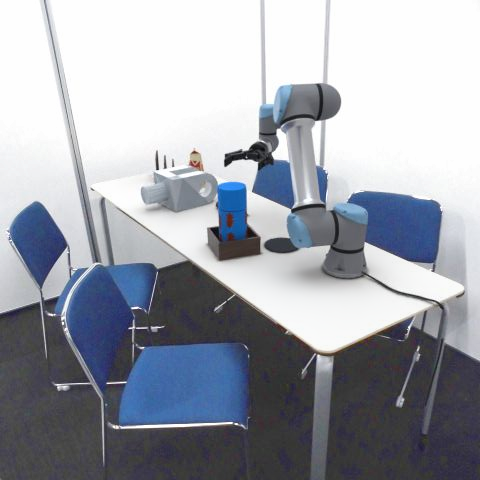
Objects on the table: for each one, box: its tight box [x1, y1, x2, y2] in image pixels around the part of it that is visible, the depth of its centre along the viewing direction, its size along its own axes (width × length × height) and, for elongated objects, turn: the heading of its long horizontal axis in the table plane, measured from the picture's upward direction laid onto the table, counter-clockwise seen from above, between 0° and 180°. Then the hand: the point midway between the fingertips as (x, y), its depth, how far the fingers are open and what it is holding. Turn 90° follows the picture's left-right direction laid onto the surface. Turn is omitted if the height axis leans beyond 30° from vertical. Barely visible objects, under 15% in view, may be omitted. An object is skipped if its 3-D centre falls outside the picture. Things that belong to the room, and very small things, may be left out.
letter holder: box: [154, 149, 175, 171], centre depth 267 cm, size 10×20×14 cm, turn 6°
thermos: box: [216, 181, 248, 242], centre depth 179 cm, size 11×11×25 cm
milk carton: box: [188, 147, 206, 188], centre depth 252 cm, size 9×9×20 cm
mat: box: [263, 236, 300, 254], centre depth 187 cm, size 14×14×1 cm
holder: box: [206, 222, 262, 261], centre depth 184 cm, size 17×17×7 cm
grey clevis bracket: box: [140, 164, 219, 213], centre depth 228 cm, size 35×19×15 cm, turn 126°
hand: (241, 165), depth 176 cm, fingers open, 13 cm apart
